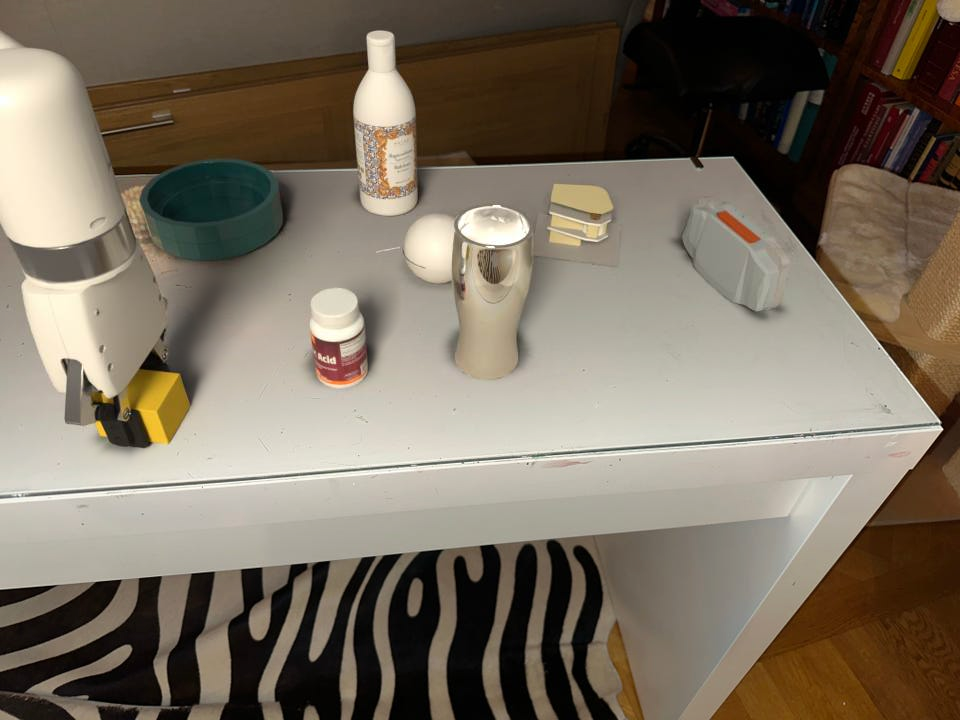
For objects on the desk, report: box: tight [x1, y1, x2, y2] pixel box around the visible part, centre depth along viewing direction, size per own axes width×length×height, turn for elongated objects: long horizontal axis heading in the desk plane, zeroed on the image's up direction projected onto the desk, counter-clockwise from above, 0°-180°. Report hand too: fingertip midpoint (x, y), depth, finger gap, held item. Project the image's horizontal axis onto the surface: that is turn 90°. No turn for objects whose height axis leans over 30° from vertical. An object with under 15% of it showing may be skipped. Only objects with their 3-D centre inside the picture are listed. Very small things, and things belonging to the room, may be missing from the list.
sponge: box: [94, 369, 191, 445], centre depth 63 cm, size 6×4×4 cm
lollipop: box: [376, 212, 456, 284], centre depth 79 cm, size 10×7×7 cm
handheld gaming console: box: [681, 195, 791, 312], centre depth 79 cm, size 14×3×8 cm, turn 24°
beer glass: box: [451, 203, 535, 381], centre depth 67 cm, size 7×7×15 cm
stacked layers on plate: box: [533, 183, 622, 268], centre depth 85 cm, size 10×9×6 cm
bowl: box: [139, 157, 284, 262], centre depth 85 cm, size 15×15×5 cm
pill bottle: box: [308, 287, 369, 389], centre depth 67 cm, size 5×5×8 cm
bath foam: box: [352, 30, 419, 217], centre depth 85 cm, size 7×7×20 cm
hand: (145, 417), depth 64 cm, fingers open, 4 cm apart
